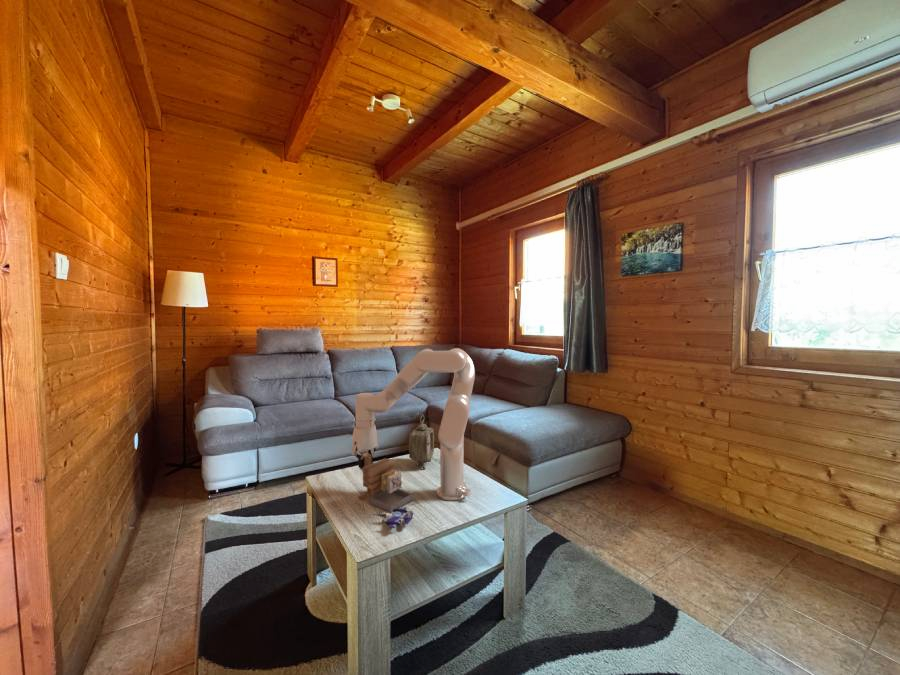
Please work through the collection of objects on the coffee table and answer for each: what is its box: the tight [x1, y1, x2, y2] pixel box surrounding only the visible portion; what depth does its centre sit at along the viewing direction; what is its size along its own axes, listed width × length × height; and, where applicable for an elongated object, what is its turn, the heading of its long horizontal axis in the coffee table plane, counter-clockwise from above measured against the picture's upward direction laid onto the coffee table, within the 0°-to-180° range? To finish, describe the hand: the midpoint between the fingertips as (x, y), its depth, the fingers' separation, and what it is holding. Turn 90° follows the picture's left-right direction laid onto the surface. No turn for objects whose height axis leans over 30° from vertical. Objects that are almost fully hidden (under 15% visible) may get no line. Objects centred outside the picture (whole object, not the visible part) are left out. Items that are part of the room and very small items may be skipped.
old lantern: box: [408, 414, 435, 470], centre depth 180 cm, size 14×9×25 cm, turn 168°
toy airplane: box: [371, 506, 414, 529], centre depth 128 cm, size 13×14×4 cm
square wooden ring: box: [387, 471, 402, 493], centre depth 142 cm, size 1×6×6 cm, turn 143°
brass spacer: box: [381, 469, 396, 491], centre depth 144 cm, size 1×6×6 cm, turn 143°
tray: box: [369, 488, 414, 514], centre depth 143 cm, size 12×12×2 cm
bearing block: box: [357, 457, 395, 504], centre depth 148 cm, size 8×12×14 cm
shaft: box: [359, 452, 403, 486], centre depth 146 cm, size 22×4×8 cm, turn 53°
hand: (365, 466), depth 152 cm, fingers closed on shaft, 3 cm apart
